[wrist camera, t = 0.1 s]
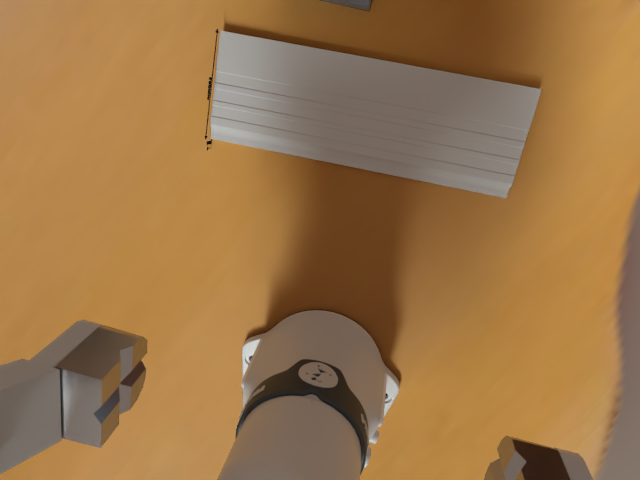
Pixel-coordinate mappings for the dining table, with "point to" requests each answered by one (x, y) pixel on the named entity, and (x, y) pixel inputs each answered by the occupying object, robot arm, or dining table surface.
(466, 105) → the baseboard molding
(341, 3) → the charcoal ridge
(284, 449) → the robot arm
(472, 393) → the dining table surface
